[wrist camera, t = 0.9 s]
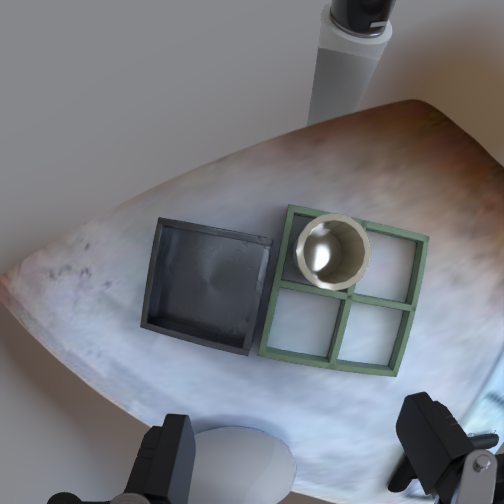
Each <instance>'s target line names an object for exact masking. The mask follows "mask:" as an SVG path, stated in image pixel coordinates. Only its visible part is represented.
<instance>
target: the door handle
mask: <svg viewBox="0 0 504 504" xmlns="http://www.w3.org/2000/svg"><path fill="white" fill-rule="evenodd" d="M495 431H496V430H495ZM494 433H495V432H494ZM467 436H468V438H469V439H470V440H471V442H472V443H473V445H474V446H475V447H476V449H477V450H478V449H484V450H485V449H490V448H492V447H494V446H496V445H497V443H498V441H499V436H498V435H497V434H493V433H491V434H485V435H479V436H475V435H474V434H472V433H471V434H468V435H467ZM412 479H418V477H417V475H416V473H415V471H414V469H413V466H412V464H411V462H410V460H409V458H408V456H406V458H405V460H404V461H403V463H402V465H401V466H400V468H399V470H398V471H397V473H396V475H395V476H394V478H393V479H392V481H391V482H390V484H389V486H388V490H389V491H391V492H395V493H397V492H401V491H404V490H405V489H406V488H407V486H408V485H409V484H410V482H411V481H412ZM432 496H433V498H434V499H436V498H437V496H438V493H437V491H435V492H433V493H432Z"/></svg>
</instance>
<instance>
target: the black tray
mask: <svg viewBox="0 0 504 504" xmlns="http://www.w3.org/2000/svg"><path fill="white" fill-rule="evenodd" d="M272 246H273V239H272V238H266V237H261V236H256V235H251V234H246V233H241V232H236V231H230V230H225V229H220V228H215V227H209V226H204V225H199V224H193V223H188V222H183V221H177V220H172V219H166V218H161V217H159V218H158V222H157V227H156V231H155V237H154V242H153V247H152V253H151V258H150V264H149V270H148V276H147V282H146V289H145V295H144V303H143V310H142V318H141V325H140V327H142V328H145V329H148V330H151V331H154V332H157V333H161V334H164V335H167V336H171V337H174V338H178V339H181V340H185V341H188V342H192V343H196V344H199V345H203V346H207V347H211V348H215V349H219V350H223V351H227V352H231V353H235V354H240V355H244V356H248V355H249V352H250V349H251V347H252V342H253V338H254V333H255V328H256V324H257V319H258V314H259V310H260V305H261V300H262V295H263V290H264V285H265V281H266V276H267V271H268V266H269V261H270V256H271V251H272Z"/></svg>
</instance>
